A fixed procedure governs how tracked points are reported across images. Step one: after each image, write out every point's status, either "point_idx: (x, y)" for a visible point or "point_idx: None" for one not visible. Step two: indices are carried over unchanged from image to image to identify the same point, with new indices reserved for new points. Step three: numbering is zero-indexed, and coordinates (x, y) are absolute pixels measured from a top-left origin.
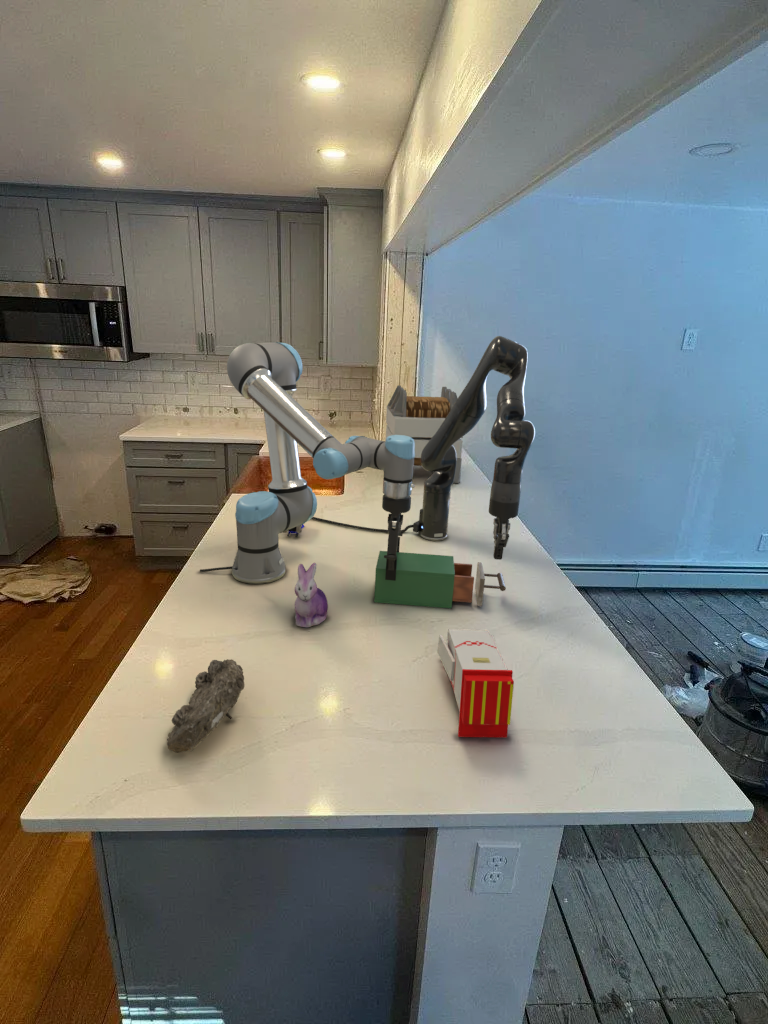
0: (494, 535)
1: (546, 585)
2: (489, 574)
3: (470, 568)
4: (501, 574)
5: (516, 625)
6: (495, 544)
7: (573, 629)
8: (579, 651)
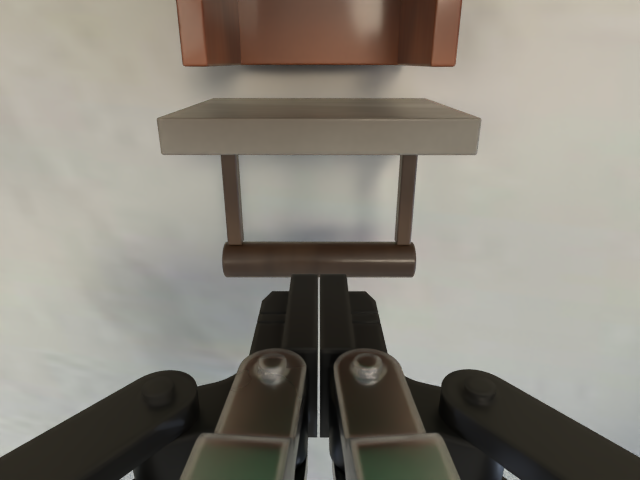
0: (219, 472)
1: None
2: (402, 197)
3: (424, 52)
4: (394, 273)
5: (118, 266)
6: (164, 384)
7: None
8: (11, 441)
